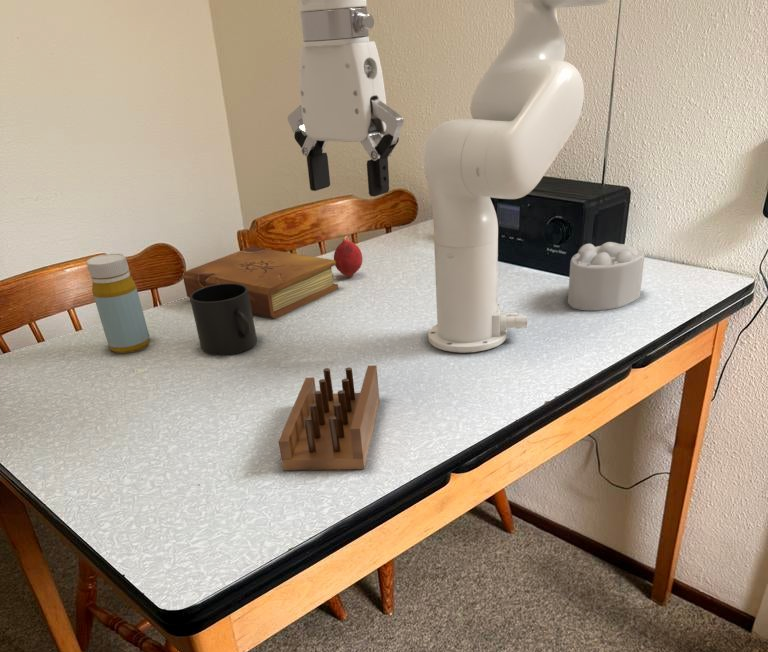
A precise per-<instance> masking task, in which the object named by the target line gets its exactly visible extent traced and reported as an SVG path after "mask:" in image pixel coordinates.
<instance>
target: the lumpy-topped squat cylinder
mask: <svg viewBox="0 0 768 652" xmlns="http://www.w3.org/2000/svg"><path fill="white" fill-rule="evenodd" d="M644 261H645V252H643V251H642V250H638V249H636V248H635V246H633V245H630V244H624V243H617V242H613V241H607V242H605V243H603V244H601V245H597V246H595V245H594V244H592V243H585V244H582V246H580V247H579V249H578V251H577V253H575V254H574V255H573V256H572V257H571V259H570V263H569V265H570V266H569V276H568V277H569V279H568V280H569V281H568V294H567V295H568V297H567V303H568V305H569V306H570V308H572V309H576V310H579V311H605V310H613V309H617V308H621V307H624V306H626V305H628V304H629V305H630V304H631V303H632V302H634V301H636V300H638V299H639V298H640V297H641V290H642V281H643V272H644Z"/></svg>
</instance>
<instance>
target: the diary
mask: <svg viewBox="0 0 768 652" xmlns="http://www.w3.org/2000/svg"><path fill="white" fill-rule="evenodd" d="M335 265H336V262H335V260H334V259H332V258H331V259H330V258H326V257H325V258H324V257H319V256H311V255H306V254H301V253H300V254H299V253H293V252H287V251H282V250H281V251H280V250H274V249H269V248H261V247H257V246H256V247H255V246H249V247H247V248H244V249H241V250H239V251H236V252H233V253H230V254H228V255H225V256H222V257H219V258H217V259H215V260H213V261H209V262H206V263H204V264H201V265H198V266H196V267H193V268H191V269H187V270H185V271H184V273H183V276H182V279H183V283H184V289H185V293H186V297H187V298H189V299H190V295H191V294H192V293H193V292H195V291H196V290H199V289H201V288H204V287H207V286H211V285H216V284H226V283H233V284H241V285H244V286H246V287H247V288H248V292H249V298H250V303H251V309H252V314H253V315H257V316H262V317H266V318H269V319H274V320H276V319H278V318H280V317H282V316H285V315H286V314H288V313H290V312H292V311H295V310H296V309H298V308H301V307H303V306H305V305H307V304H310V303H311V302H314V301H316V300H318V299H321V298H322V297H324V296H326V295H328V294H331V293H332V292H336V291H338V290H339V284H338V283H334V279H333V278H334V277H333V271H332V267H336V266H335Z"/></svg>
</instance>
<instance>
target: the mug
mask: <svg viewBox="0 0 768 652" xmlns="http://www.w3.org/2000/svg"><path fill="white" fill-rule="evenodd" d="M189 300H190V305H191V309H192V313H193V318H194V322H195V323H194V324H195V328H196V332H197V336H198V340H199V344H200V348H201V350H202V352H204V353H205V354H207V355H211V356H231V355H236V354H239V353H243V352H245V351H248V350H250V349H252V348H253V347H254V346H255V345H256V344H257V341H258V337H257V331H256V326H255V319H254V314H252V309H251V303H250V298H249V292H248V288H247V287H246V286H244V285H241V284H233V283H226V284H216V285H211V286H207V287H204V288H201V289H199V290H196V291H195V292H193V293H192V294H191V295H190V298H189Z"/></svg>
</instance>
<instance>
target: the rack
mask: <svg viewBox="0 0 768 652" xmlns="http://www.w3.org/2000/svg"><path fill="white" fill-rule="evenodd" d="M344 369H345V378H342V379H341V386H342V388H341V390H338V391H337V393H334V391H333V383H332V373H331V369H330V368H329V367H325V368H324V369H323V371H322V372H323V377H324V378H322V379H321V378H320V379H319V380H318V383H319V385H318V387H319V390H317V387H316V380H315V377H305V378H304V382H303V383H302V386H301V388H300V391H299V393H298V395H297V396H296V400H295V402H294V404H293V407H292V409H291V411H290V413H289V416H288V417H287V420H286V423H285V425H284V427H283V430H282V432H281V434H280V436H279V439H278V442H277V443H278V448H279V454H280V459H281V465H282V470H283V471H320V470H321V471H322V470H326V471H327V470H328V471H329V470H330V471H331V470H365V467H366V463H367V460H368V455H369V450H370V446H371V441H372V437H373V432H374V428H375V423H376V419H377V415H378V410H379V406H380V401H381V400H380V390H379V389H380V387H379V376H378V367H377V365H376V364H375V365H373V364H372V365H371V364H370V365H367V366H366V371H365V374H364V379H363V382H362V385H361V389H360V392H356V391H355V384H354V373H353V368H352V367H346V368H344Z"/></svg>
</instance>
